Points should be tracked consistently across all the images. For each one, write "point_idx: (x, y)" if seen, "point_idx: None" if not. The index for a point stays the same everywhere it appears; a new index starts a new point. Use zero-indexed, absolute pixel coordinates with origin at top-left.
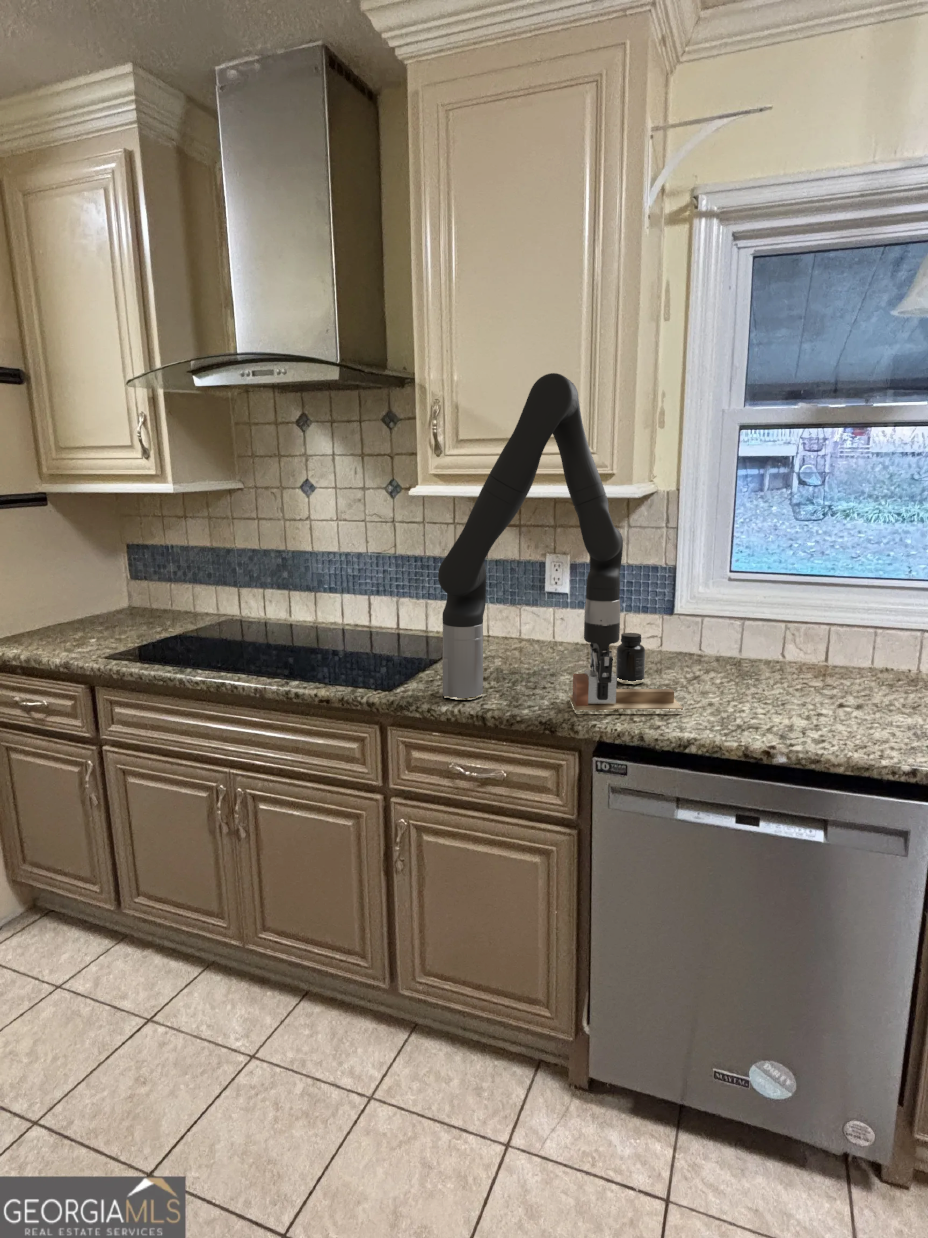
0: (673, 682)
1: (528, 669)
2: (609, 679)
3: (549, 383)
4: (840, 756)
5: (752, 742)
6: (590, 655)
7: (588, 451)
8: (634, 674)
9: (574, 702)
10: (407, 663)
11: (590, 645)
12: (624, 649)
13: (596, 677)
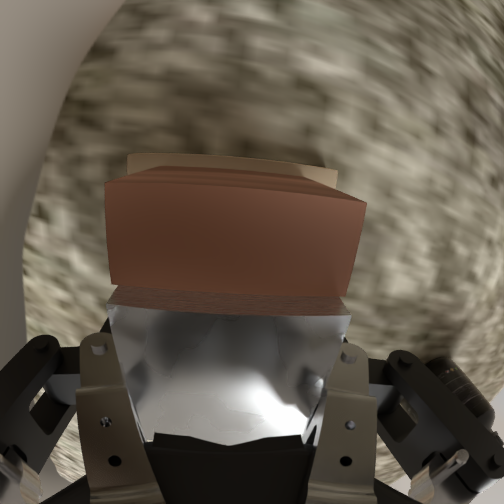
0: (380, 437)
1: None
2: (44, 393)
3: None
4: (58, 464)
5: (59, 440)
6: (461, 403)
7: None
8: (413, 409)
9: (214, 166)
10: None
11: (494, 463)
12: None
13: (119, 355)
